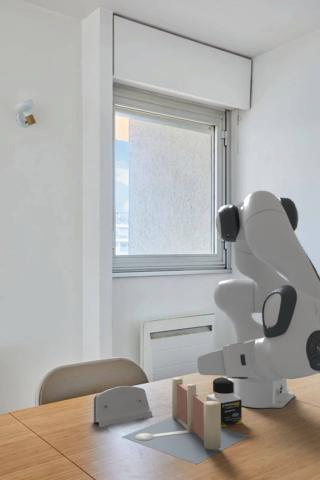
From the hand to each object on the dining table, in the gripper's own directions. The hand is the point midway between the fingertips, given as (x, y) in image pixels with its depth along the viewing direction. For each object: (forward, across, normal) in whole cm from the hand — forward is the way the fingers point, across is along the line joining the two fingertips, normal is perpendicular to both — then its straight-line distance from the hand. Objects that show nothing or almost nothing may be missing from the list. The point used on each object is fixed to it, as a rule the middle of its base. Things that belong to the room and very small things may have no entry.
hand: (219, 367), depth 109 cm
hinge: (+42, +4, +10) cm, 43 cm away
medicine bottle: (+24, -19, +13) cm, 33 cm away
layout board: (+21, -3, +15) cm, 26 cm away
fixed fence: (+27, -8, +12) cm, 31 cm away
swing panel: (+14, -5, +16) cm, 21 cm away
